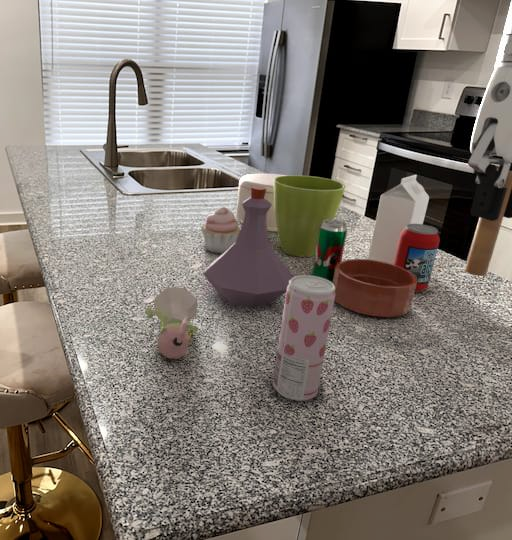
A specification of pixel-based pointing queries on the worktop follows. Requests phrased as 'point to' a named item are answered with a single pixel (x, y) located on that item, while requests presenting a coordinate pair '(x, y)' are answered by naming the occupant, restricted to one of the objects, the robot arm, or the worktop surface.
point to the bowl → (374, 287)
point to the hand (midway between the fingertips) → (491, 215)
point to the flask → (250, 261)
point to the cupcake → (220, 231)
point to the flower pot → (304, 210)
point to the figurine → (174, 320)
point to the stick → (486, 238)
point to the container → (268, 183)
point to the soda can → (329, 248)
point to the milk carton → (397, 217)
